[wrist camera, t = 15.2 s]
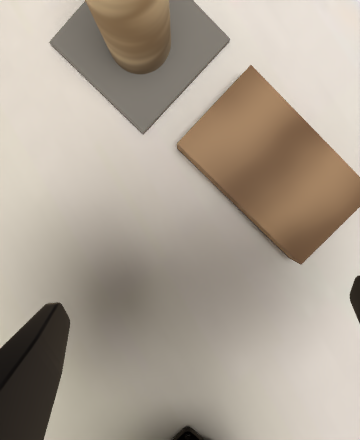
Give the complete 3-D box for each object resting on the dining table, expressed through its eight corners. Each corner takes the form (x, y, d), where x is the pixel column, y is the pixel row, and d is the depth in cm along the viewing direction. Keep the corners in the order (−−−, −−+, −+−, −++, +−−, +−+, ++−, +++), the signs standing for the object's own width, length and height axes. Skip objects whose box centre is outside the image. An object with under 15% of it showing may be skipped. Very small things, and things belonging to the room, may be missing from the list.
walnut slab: (356, 192, 21) (374, 192, 19) (289, 258, 22) (301, 264, 20) (243, 77, 20) (250, 64, 18) (177, 148, 21) (177, 143, 19)
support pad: (143, 134, 21) (142, 133, 20) (51, 45, 20) (49, 42, 20) (229, 41, 20) (230, 39, 20) (137, -53, 20) (136, -58, 19)
